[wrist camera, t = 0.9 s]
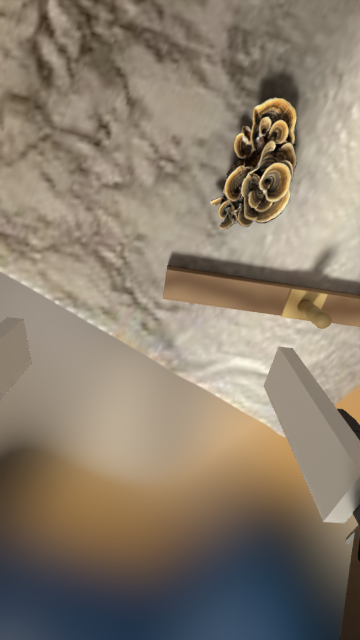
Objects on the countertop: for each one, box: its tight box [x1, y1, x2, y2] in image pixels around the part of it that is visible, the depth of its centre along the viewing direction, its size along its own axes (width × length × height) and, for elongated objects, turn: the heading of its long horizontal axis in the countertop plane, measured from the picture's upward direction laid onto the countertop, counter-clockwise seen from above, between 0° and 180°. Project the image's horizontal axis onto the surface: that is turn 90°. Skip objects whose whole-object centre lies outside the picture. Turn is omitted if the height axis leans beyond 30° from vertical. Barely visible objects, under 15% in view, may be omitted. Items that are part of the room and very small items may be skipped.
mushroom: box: [211, 97, 297, 229], centre depth 27 cm, size 12×8×4 cm, turn 158°
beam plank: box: [163, 266, 360, 329], centre depth 32 cm, size 4×30×7 cm, turn 81°
